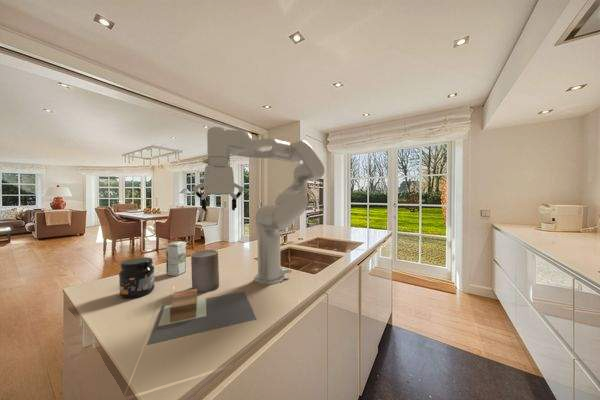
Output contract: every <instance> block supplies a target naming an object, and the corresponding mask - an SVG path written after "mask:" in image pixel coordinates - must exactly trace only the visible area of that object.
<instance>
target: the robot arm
mask: <svg viewBox="0 0 600 400" xmlns="http://www.w3.org/2000/svg"><path fill="white" fill-rule="evenodd" d="M206 135H207V136H206V139H207V140H206V141H207V142H206V143H207V144H206V145H207V148H206V149H207V157H206V158H203V159H202V163H203V164H206V165H205V167H204V173H203V174H204V175H203V182H201V183H200V184H197V185H194V186H193V187H192V190H193V192H194V194H195V196H197V197H198V198H199V199H200V200H201V210H203V212H206V211H207V200H206V198H207V197H208V196H209V195H229V196H230V197H231V198H232V199H231V210H232V211H236V209H237V200H238V198H240V196H242V194H243V192H244V190H245V188H244V187H243V186H241V185H239V184H237V183H235V177H234V169H233V167H232V166H231V163H230V162H231V159H230V157H231V155H233V156H237V157H245V158H253V159H255V158H256V159H257V158H258V159H268V160H269V159H270V160H277V161H282V162H289V163H295V162H300V161H302V162H301V163H299V164H297V165H296V166H295V167H294V169H293V182H292V183H291V184H290V185H289V186H288V187H286V188H285V189H284V190H283V191H282V192H281V193H279V194H278V195H277V196H276V198H275V201H274V204H265V205H262V206H260V207H258V209H257V210H256V212H255V218H254V220H255V225H256V232H257V233H256V234H257V274H256V275H255V276H254V280H253V281H254V282H255V283H256V284H260V285H269V286H270V285H275V284H279V283H282V282H283V281H284V280H285V274H292V268H287V267H281V233H280V231H281V230H286V229H288V228H289V227H290V226H291V225H292V224H293V223H294V222H295V221H296V220H298V219H299V218H300V217H301V216H302V215H304V213H305V211H306V210H307V208H308V204H309V199H308V196H307V194H308V191H309V189H308V181H312V180H320V179H321V178H322V177H324V174H325V166H324V164H323V162H322V161H321V159H320V157H319V155H317V153H316V152H315V150H314V148H313V147H312V146H311V145H310V144H309V143H308V142H307V141H306V140H303V139H302V140H296V141H294V142H290V141H289V142H288V141H283V140H280V139H276V138H274V137H273V138H272V137H270V138H268V137H267V138H261V139H253V137H252V135H251V134H250V133H249V132H248V131H246V130H243V129H242V130H241V129H227V128H225V127H220V126H213V127H209V128H207V133H206ZM201 188H203V192H204V193H203V194H201V193H200V191H199V189H201ZM235 189H237V190H238V191H237V193H236V194H235Z"/></svg>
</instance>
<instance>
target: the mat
mask: <svg viewBox="0 0 600 400" xmlns="http://www.w3.org/2000/svg"><path fill="white" fill-rule="evenodd" d="M170 306H171V304H168V305H167V304H166V305H162V306H161V307H160V310H159V313H158V315H157V317H156V321H155V324H154V326H153V328H152V331H151V334H150V337H149V339H148V341H147V344H146V345H147V346H149V345H150V346H151V345H153V344H157V343H161V342H166V341H171V340H174V339H178V338H179V339H180V338H183V337H187V336H191V335H195V334H200V333H205V332H209V331H214V330H218V329H221V328H225V327H230V326H233V325H238V324H239V325H240V324H242V323H246V322H250V321H255V320H257V318H256V315H255V312H254V310H253V308H252V306H251V304H250V302H249V299H248V297H247V295H246V292H245V291H239V292H235V293H229V294H228V293H227V294H224V295H223V294H222V295H217V296H213V297H212V296H211V297H207V298H201V299H197V312H196V317H194V318H190V319H185V320H180V321H175V322H170Z"/></svg>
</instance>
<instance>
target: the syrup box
mask: <svg viewBox="0 0 600 400" xmlns="http://www.w3.org/2000/svg"><path fill="white" fill-rule="evenodd" d="M186 248H187V243H186V241H178V240H177V241H171V242H170V243H166V251H165V252H166V255H165V256H166V258H165V259H166V260H165V262H166V265H165V266H166V269H165V272H166V274H165V275H166V276H167V275H171V276H172V277H178V276H180V275H182V274H184V273H186V272H187V271H186V270H187V269H186V268H187V267H186V266H187V262H186V261H187V255H186V254H187V251H186V250H187V249H186ZM171 276H170V277H171Z"/></svg>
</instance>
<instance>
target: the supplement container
mask: <svg viewBox="0 0 600 400" xmlns="http://www.w3.org/2000/svg"><path fill="white" fill-rule="evenodd" d="M119 266H120V271H119V272H118V278H119V279H118V280H119V285H118V286H119V296H120V297H121V298H122V299H136V298H140V297H144V296H146V295H148V294H150V293H151V292H152V291H154V289H155V288H156V287H155V266H154V265H153V258H152V257H147V256H146V257H136V258H135V257H134V258H131V259H126V260H124V261H121V262H120V265H119Z"/></svg>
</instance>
